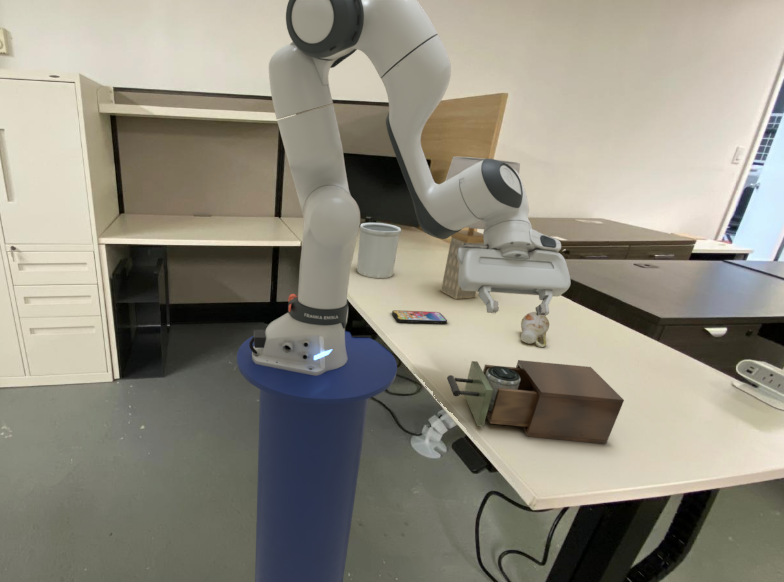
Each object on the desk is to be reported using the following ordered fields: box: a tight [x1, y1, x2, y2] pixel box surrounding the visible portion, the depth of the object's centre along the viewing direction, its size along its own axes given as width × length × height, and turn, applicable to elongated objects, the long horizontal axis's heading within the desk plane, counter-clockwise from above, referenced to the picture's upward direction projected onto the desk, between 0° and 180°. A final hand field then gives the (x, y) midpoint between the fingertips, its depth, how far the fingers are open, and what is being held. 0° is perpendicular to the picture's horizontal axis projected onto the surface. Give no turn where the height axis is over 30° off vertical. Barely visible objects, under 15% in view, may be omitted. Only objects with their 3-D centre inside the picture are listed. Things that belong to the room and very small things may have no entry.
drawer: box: [446, 360, 538, 427], centre depth 90 cm, size 18×11×8 cm, turn 87°
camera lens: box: [485, 365, 521, 412], centre depth 90 cm, size 6×6×8 cm
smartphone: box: [391, 309, 448, 325], centre depth 137 cm, size 7×1×15 cm
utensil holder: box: [356, 222, 402, 279], centre depth 173 cm, size 15×15×18 cm
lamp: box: [440, 156, 521, 300], centre depth 152 cm, size 25×25×44 cm
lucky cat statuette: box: [520, 311, 550, 348], centre depth 128 cm, size 8×10×10 cm
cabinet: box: [515, 359, 625, 445], centre depth 90 cm, size 15×13×10 cm
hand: (518, 313), depth 84 cm, fingers open, 8 cm apart
